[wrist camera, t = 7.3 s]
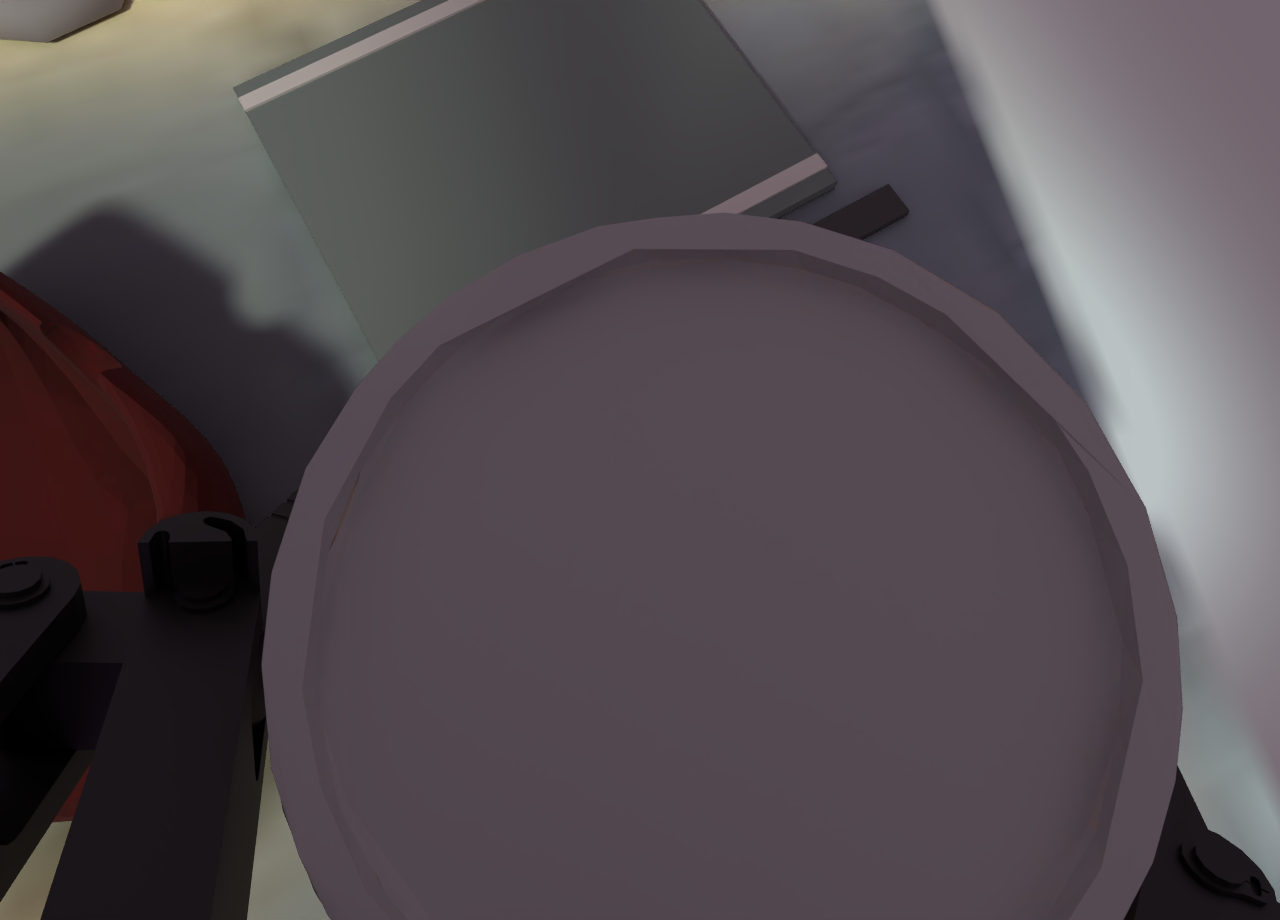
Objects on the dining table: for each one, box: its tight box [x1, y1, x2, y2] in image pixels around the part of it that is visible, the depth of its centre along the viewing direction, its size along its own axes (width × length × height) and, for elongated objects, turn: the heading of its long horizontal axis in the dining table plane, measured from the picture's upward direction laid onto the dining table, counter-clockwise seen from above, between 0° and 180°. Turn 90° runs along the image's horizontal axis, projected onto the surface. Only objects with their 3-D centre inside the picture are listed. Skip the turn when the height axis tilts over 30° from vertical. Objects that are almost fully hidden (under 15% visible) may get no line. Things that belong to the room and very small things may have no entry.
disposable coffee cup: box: [262, 213, 1183, 920], centre depth 14 cm, size 10×10×12 cm
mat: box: [233, 0, 837, 361], centre depth 29 cm, size 14×16×1 cm
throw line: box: [813, 184, 909, 240], centre depth 27 cm, size 1×19×1 cm, turn 120°
